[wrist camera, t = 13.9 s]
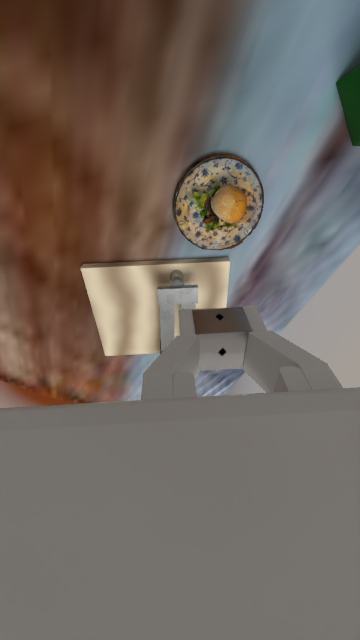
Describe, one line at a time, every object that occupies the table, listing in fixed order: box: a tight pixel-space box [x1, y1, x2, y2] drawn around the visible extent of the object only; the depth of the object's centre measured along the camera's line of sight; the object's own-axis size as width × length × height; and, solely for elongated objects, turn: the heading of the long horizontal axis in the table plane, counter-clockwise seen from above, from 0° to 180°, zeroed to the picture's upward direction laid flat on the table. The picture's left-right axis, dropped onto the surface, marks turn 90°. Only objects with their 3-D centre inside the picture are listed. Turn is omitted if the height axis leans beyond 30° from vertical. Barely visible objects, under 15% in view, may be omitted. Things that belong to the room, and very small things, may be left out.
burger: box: [174, 154, 264, 250], centre depth 33 cm, size 12×12×8 cm
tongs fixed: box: [157, 270, 198, 310], centre depth 43 cm, size 16×6×5 cm, turn 2°
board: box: [81, 257, 230, 356], centre depth 45 cm, size 22×18×2 cm
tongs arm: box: [160, 305, 175, 354], centre depth 44 cm, size 13×3×3 cm, turn 179°
